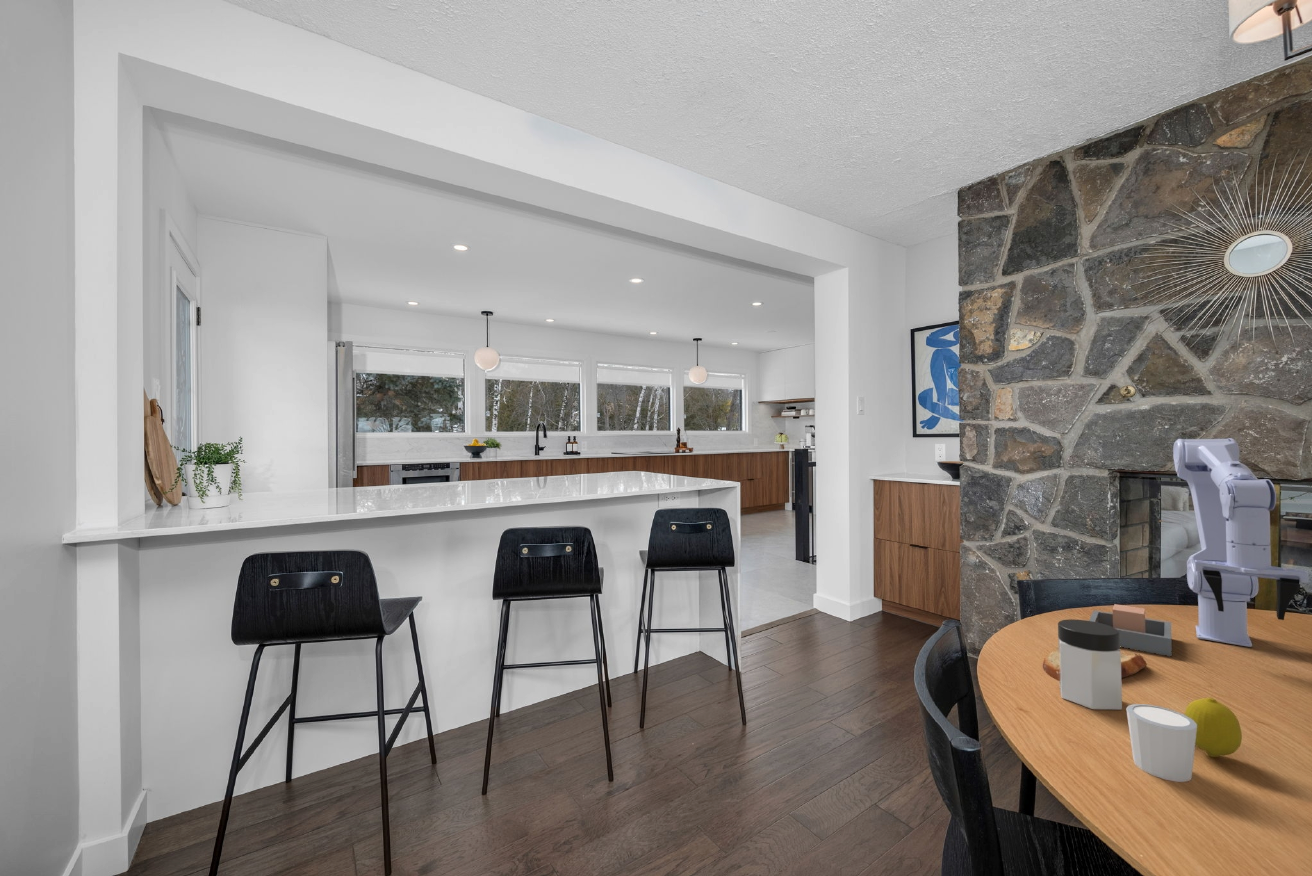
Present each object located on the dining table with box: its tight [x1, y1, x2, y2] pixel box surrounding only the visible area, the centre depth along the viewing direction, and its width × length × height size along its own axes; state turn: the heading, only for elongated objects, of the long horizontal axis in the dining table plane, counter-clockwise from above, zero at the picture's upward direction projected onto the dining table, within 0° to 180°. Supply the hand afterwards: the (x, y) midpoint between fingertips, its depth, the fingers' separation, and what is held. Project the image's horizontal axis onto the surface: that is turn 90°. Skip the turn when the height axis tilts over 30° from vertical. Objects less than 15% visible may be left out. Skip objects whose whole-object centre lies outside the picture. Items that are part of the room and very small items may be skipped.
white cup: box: [1125, 703, 1197, 783], centre depth 72 cm, size 7×7×7 cm
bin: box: [1088, 610, 1173, 657], centre depth 117 cm, size 13×13×4 cm
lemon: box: [1184, 697, 1243, 758], centre depth 74 cm, size 6×6×8 cm
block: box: [1112, 603, 1146, 633], centre depth 117 cm, size 5×5×6 cm
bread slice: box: [1042, 646, 1148, 682], centre depth 102 cm, size 18×18×4 cm
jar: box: [1057, 618, 1123, 711], centre depth 91 cm, size 9×8×12 cm
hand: (1249, 614), depth 103 cm, fingers open, 7 cm apart
